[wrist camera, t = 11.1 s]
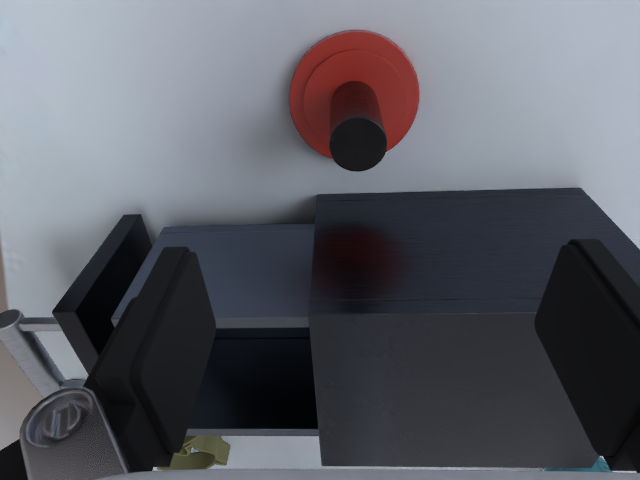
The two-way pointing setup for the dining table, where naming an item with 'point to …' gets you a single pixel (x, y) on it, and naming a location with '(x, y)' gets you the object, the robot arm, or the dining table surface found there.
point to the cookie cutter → (210, 455)
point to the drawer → (230, 315)
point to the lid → (354, 97)
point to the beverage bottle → (598, 467)
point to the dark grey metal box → (445, 327)
